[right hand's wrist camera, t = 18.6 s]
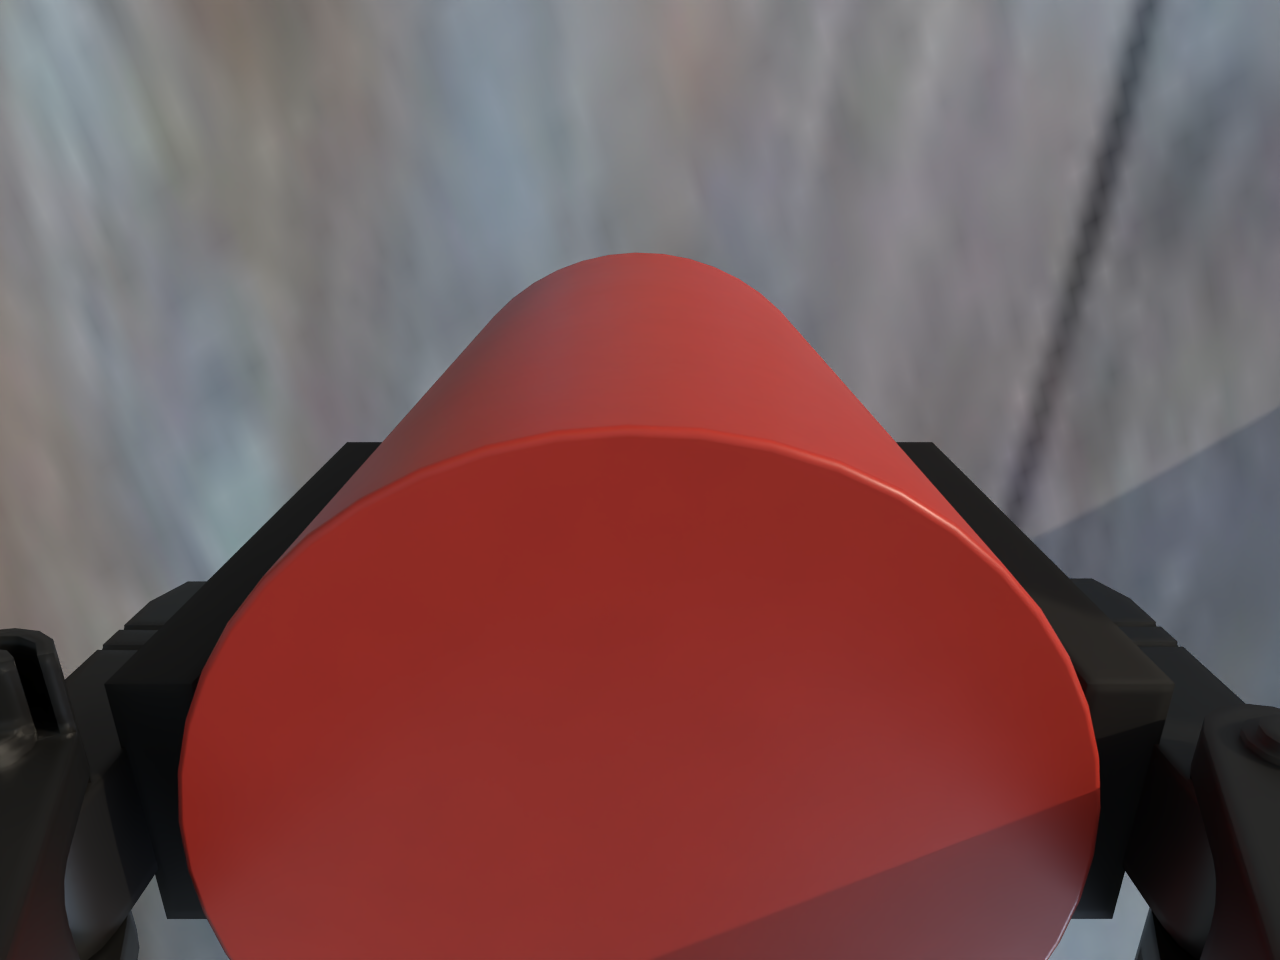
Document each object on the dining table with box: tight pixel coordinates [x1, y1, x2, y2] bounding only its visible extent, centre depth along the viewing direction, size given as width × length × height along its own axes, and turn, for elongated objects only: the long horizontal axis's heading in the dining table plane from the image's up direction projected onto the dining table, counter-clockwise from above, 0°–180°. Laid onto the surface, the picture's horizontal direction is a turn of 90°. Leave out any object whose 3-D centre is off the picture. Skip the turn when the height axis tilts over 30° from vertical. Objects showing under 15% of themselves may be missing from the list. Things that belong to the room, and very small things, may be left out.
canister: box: [178, 253, 1101, 960], centre depth 12 cm, size 8×8×11 cm
